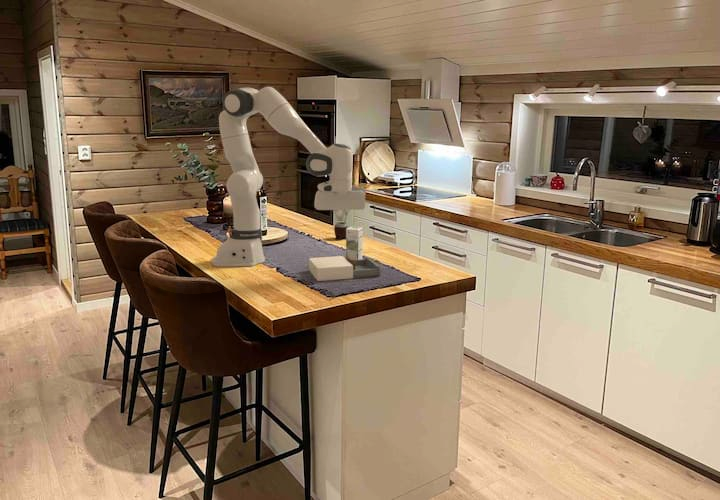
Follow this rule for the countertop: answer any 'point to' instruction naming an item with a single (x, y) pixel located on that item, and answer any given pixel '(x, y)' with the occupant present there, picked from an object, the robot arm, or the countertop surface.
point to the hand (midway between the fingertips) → (339, 220)
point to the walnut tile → (351, 261)
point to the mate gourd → (341, 229)
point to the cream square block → (330, 268)
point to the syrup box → (354, 242)
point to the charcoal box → (366, 268)
